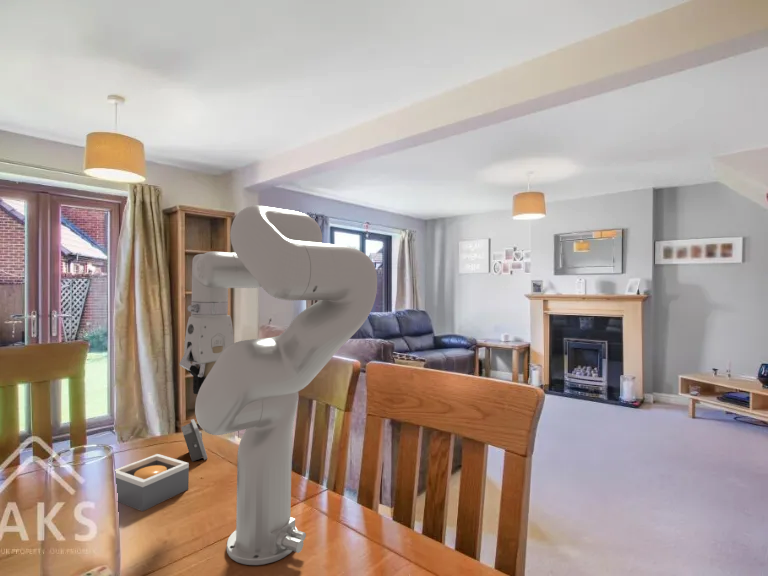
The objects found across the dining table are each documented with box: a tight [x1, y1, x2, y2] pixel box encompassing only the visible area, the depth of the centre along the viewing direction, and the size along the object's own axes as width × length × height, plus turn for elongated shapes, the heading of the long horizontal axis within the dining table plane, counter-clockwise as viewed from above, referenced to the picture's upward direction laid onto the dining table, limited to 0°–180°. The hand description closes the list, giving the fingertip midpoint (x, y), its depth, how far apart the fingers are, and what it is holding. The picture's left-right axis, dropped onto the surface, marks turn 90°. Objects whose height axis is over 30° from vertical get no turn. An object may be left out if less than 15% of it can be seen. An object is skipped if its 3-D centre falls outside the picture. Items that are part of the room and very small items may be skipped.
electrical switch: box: [180, 418, 208, 462], centre depth 116 cm, size 9×5×9 cm, turn 30°
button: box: [134, 465, 167, 479], centre depth 95 cm, size 6×6×2 cm
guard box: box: [114, 453, 190, 512], centre depth 95 cm, size 11×11×6 cm
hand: (208, 391), depth 94 cm, fingers closed on handle, 3 cm apart
